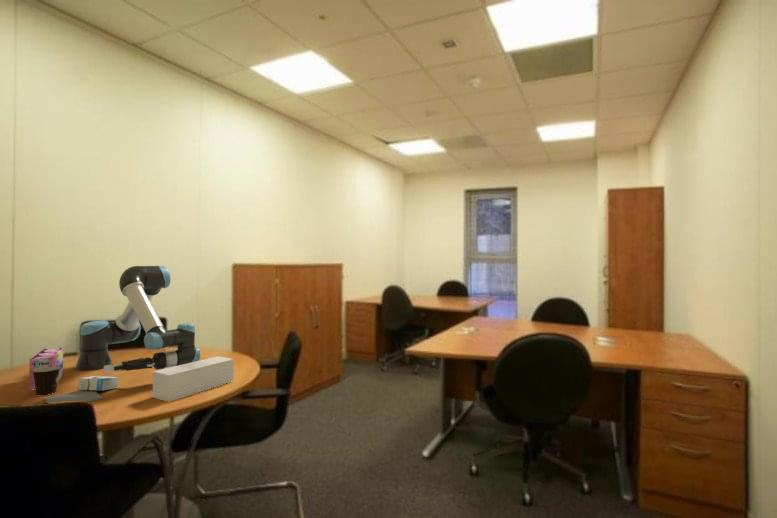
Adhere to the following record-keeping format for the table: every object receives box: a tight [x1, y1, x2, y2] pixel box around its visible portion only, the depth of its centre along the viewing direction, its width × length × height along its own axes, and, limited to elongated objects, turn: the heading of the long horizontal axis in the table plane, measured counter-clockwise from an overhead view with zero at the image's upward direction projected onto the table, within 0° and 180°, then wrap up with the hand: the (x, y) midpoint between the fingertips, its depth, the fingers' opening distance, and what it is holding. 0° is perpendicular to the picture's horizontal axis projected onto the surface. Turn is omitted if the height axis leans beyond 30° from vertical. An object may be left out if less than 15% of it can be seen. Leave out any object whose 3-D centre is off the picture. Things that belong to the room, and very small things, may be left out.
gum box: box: [28, 347, 64, 391], centre depth 191 cm, size 24×8×14 cm, turn 27°
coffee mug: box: [33, 367, 60, 396], centre depth 174 cm, size 12×9×10 cm
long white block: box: [151, 355, 235, 402], centre depth 183 cm, size 32×11×11 cm, turn 151°
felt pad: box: [43, 390, 103, 403], centre depth 168 cm, size 16×16×1 cm
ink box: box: [77, 375, 119, 392], centre depth 181 cm, size 8×5×12 cm
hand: (104, 369), depth 176 cm, fingers closed
